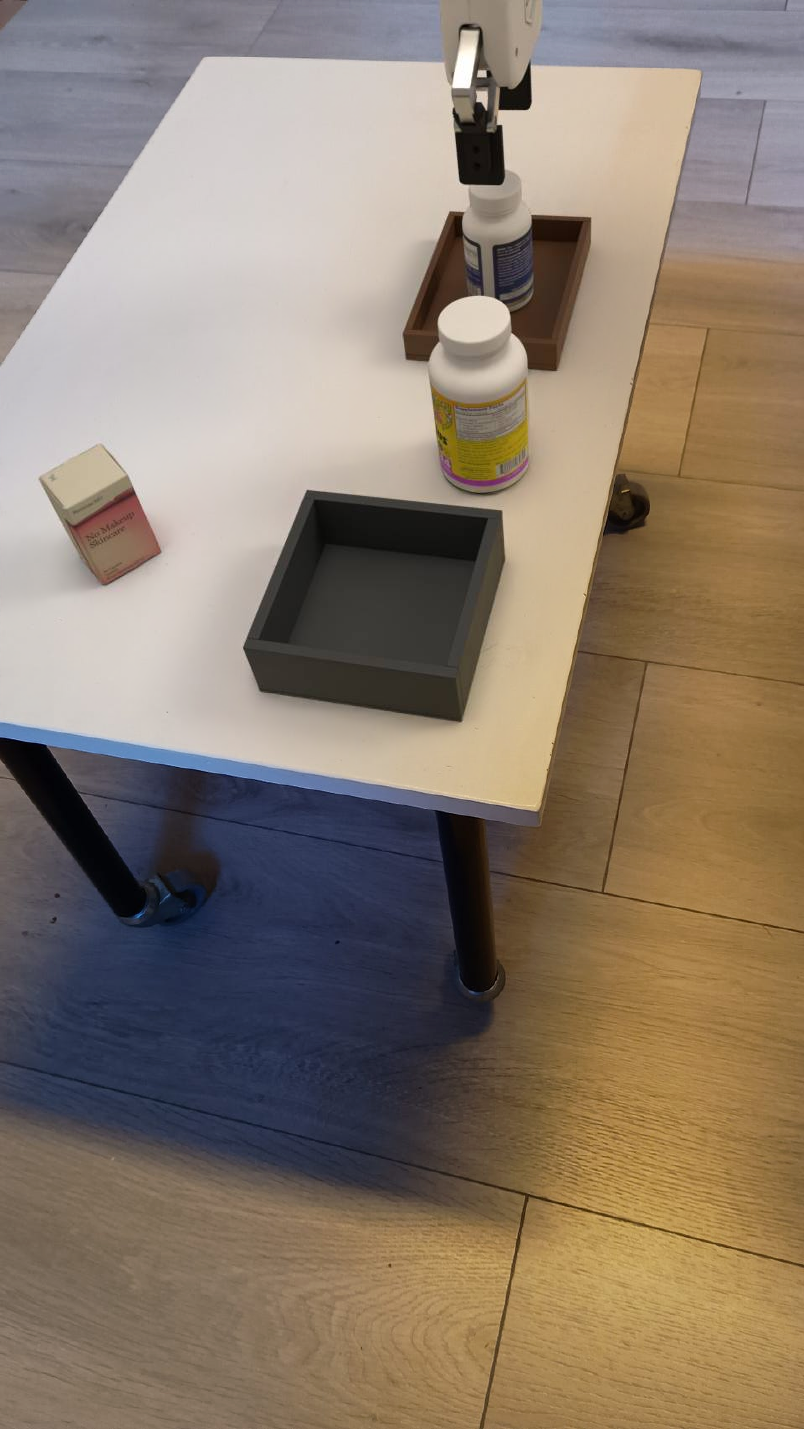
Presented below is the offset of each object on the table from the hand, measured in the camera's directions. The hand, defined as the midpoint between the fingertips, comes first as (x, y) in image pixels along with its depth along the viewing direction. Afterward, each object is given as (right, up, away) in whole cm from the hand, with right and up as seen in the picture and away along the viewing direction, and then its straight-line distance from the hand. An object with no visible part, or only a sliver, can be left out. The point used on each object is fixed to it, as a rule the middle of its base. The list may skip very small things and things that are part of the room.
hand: (496, 144), depth 81 cm
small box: (-27, -30, +1) cm, 40 cm away
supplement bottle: (-1, -23, +1) cm, 23 cm away
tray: (+1, -7, +11) cm, 13 cm away
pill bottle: (+1, -7, +11) cm, 13 cm away
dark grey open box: (-8, -35, -6) cm, 37 cm away
